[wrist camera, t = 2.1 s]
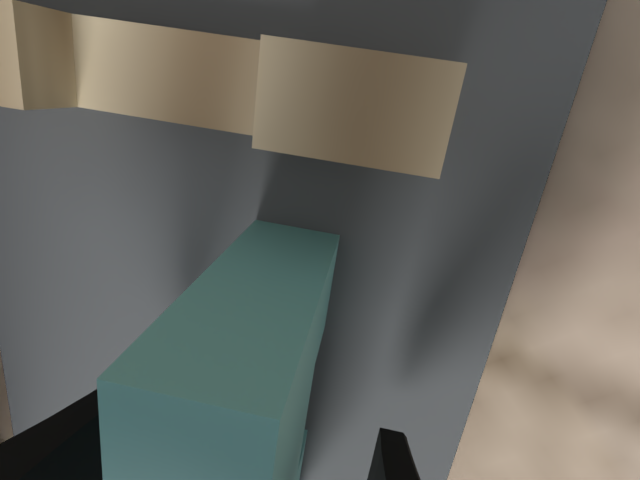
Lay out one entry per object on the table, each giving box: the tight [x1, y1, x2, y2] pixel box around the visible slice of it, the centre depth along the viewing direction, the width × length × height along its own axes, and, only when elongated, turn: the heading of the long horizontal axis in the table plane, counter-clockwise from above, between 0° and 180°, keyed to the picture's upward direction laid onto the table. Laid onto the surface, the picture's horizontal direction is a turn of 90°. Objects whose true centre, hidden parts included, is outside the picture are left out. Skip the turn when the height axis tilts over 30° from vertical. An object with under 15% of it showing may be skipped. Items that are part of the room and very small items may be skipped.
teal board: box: [97, 220, 340, 480], centre depth 10 cm, size 2×10×7 cm, turn 172°
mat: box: [0, 0, 607, 480], centre depth 13 cm, size 16×20×1 cm
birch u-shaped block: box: [0, 0, 467, 179], centre depth 9 cm, size 12×2×3 cm, turn 82°
